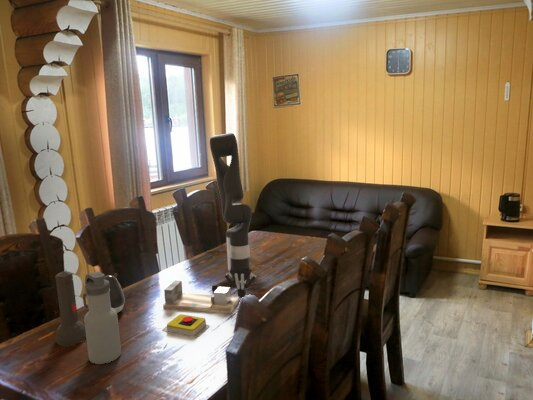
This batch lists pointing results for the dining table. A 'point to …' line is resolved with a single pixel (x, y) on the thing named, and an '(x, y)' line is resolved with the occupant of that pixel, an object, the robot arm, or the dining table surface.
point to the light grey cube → (222, 295)
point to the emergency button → (187, 325)
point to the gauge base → (193, 300)
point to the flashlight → (68, 312)
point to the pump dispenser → (115, 293)
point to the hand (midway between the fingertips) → (241, 297)
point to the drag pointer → (212, 300)
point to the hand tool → (221, 285)
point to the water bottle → (100, 320)
